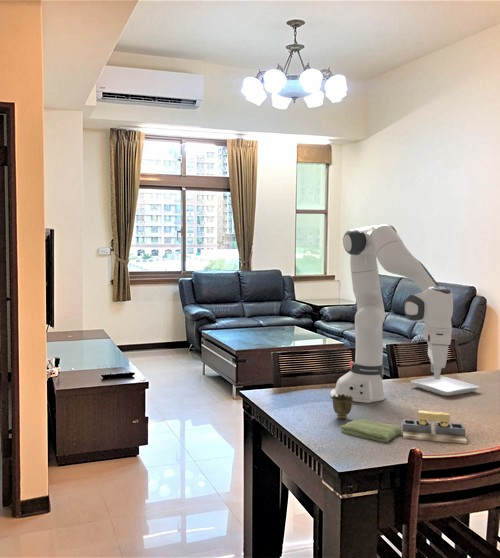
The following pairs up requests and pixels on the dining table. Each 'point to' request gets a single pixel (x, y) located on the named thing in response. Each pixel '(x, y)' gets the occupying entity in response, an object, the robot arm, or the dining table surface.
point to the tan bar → (433, 417)
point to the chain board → (434, 436)
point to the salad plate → (444, 386)
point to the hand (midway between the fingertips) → (435, 375)
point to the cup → (342, 405)
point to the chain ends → (450, 430)
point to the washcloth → (371, 430)
